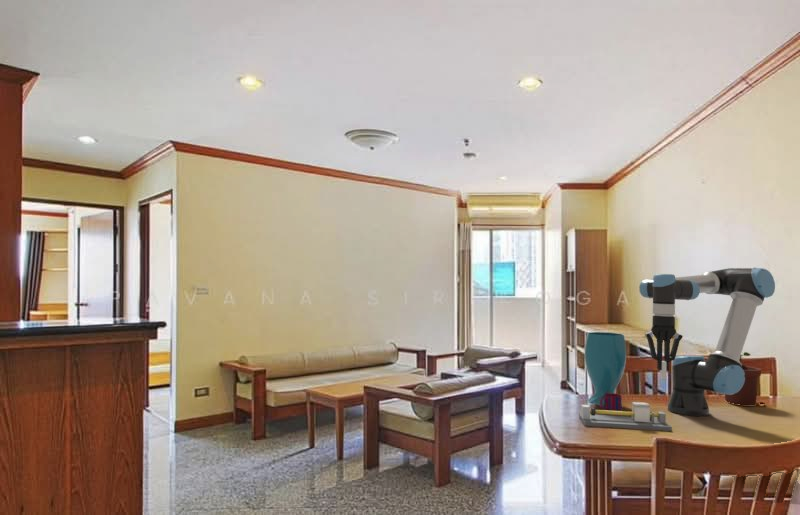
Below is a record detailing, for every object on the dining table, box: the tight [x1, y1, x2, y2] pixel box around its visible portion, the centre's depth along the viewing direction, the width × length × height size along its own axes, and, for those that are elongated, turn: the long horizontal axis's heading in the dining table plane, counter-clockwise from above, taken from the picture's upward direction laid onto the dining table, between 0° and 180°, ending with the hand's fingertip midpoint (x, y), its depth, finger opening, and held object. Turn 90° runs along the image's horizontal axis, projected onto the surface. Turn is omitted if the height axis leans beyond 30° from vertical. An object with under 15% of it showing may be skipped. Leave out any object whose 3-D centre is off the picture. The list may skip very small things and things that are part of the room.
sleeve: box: [631, 401, 651, 422], centre depth 202 cm, size 5×5×6 cm
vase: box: [584, 331, 627, 406], centre depth 240 cm, size 17×17×30 cm
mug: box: [599, 393, 622, 411], centre depth 222 cm, size 7×10×7 cm
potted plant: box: [724, 351, 766, 405], centre depth 245 cm, size 18×22×25 cm
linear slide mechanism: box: [578, 404, 673, 432], centre depth 203 cm, size 30×12×6 cm, turn 81°
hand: (663, 378), depth 201 cm, fingers closed
